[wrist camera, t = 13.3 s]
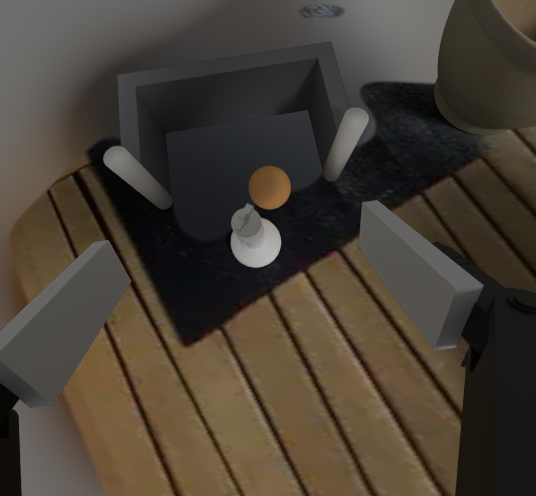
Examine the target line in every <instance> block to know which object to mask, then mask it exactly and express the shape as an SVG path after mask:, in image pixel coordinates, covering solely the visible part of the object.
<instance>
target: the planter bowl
mask: <svg viewBox="0 0 536 496" xmlns="http://www.w3.org/2000/svg"><path fill="white" fill-rule="evenodd" d="M434 99H435V103H436V105H437V108H438V109H439V111H440V113H441V114H442V115H443V117H444V118H445V119H446V120H447V121H448V122H450V123H451V124H452V125H454V126H455V127H457V128H458V129H461V130H463V131H465V132H468V133H471V134H476V135H492V134H497V133H500V132H503V131H505V130H508V129H518V128H526V127H533V126H536V0H455V1H454V4H453V6H452V8H451V11H450V13H449V16H448V19H447V21H446V25H445V28H444V32H443V35H442V39H441V44H440V50H439V57H438V78H437V80H436V83H435V86H434Z"/></svg>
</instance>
